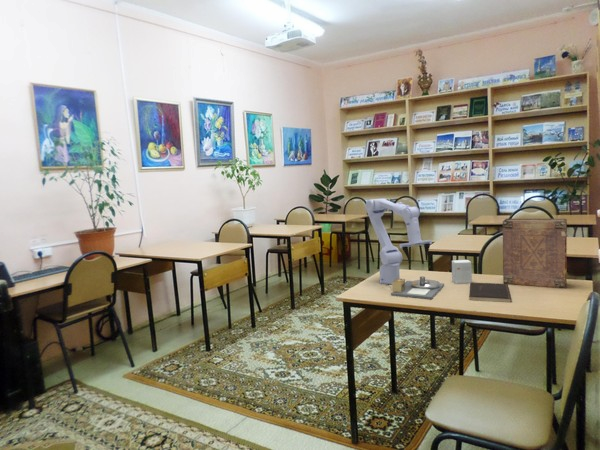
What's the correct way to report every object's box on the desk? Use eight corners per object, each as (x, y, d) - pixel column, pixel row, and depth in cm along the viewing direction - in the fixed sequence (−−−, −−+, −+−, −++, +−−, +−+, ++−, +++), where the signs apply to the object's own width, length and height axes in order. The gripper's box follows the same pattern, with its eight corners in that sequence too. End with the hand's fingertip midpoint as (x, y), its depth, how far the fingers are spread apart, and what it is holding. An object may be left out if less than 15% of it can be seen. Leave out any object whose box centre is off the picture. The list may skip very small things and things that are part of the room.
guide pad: (407, 294, 189) (407, 293, 189) (412, 289, 196) (412, 287, 196) (425, 295, 185) (425, 294, 185) (430, 290, 192) (430, 289, 192)
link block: (392, 292, 193) (392, 281, 193) (396, 288, 198) (396, 277, 198) (401, 292, 191) (400, 281, 191) (405, 289, 196) (404, 278, 196)
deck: (391, 295, 192) (391, 293, 192) (407, 282, 212) (407, 280, 212) (431, 299, 182) (431, 297, 182) (444, 285, 203) (444, 283, 203)
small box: (468, 280, 210) (468, 259, 209) (472, 283, 204) (471, 261, 203) (451, 281, 210) (451, 260, 209) (455, 283, 205) (454, 262, 204)
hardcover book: (469, 301, 179) (469, 296, 178) (470, 287, 200) (470, 282, 199) (511, 303, 172) (511, 298, 172) (508, 288, 193) (508, 283, 193)
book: (566, 283, 194) (567, 218, 191) (566, 288, 186) (567, 221, 183) (505, 279, 208) (505, 218, 204) (502, 283, 200) (502, 220, 197)
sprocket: (407, 287, 198) (407, 276, 198) (415, 281, 209) (415, 270, 209) (436, 290, 191) (436, 278, 191) (443, 283, 202) (442, 272, 202)
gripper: (397, 234, 195) (402, 264, 194) (430, 230, 191) (435, 260, 191) (398, 234, 202) (402, 263, 201) (429, 230, 198) (434, 259, 197)
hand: (418, 261), depth 196 cm, fingers open, 7 cm apart
